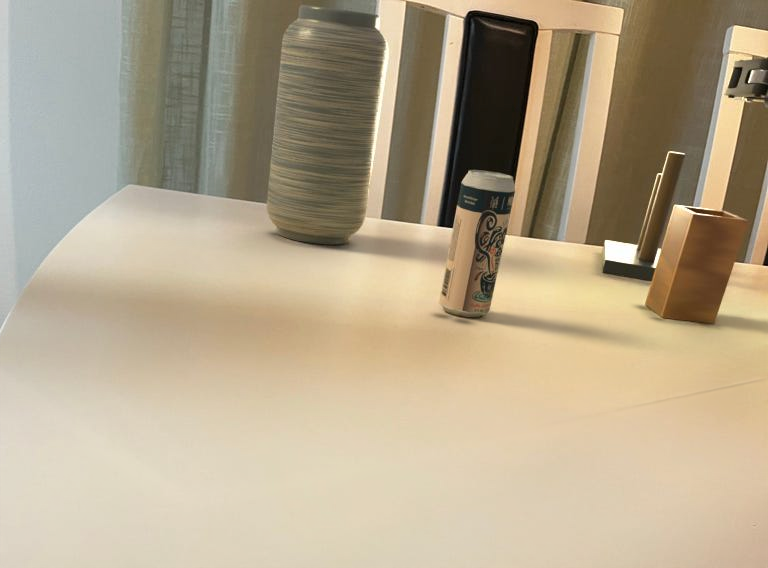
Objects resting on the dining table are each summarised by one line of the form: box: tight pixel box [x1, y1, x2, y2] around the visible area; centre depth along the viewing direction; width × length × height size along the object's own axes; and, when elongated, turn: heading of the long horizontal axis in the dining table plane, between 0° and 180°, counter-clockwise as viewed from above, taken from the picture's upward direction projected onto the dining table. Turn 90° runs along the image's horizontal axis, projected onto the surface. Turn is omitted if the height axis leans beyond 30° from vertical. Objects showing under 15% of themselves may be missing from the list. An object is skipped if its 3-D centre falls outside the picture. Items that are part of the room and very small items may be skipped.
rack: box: [601, 151, 687, 282], centre depth 123 cm, size 10×16×14 cm, turn 165°
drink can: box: [438, 169, 516, 318], centre depth 92 cm, size 5×5×12 cm
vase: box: [266, 4, 390, 246], centre depth 113 cm, size 12×12×23 cm
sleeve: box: [644, 204, 749, 325], centre depth 103 cm, size 6×6×10 cm
